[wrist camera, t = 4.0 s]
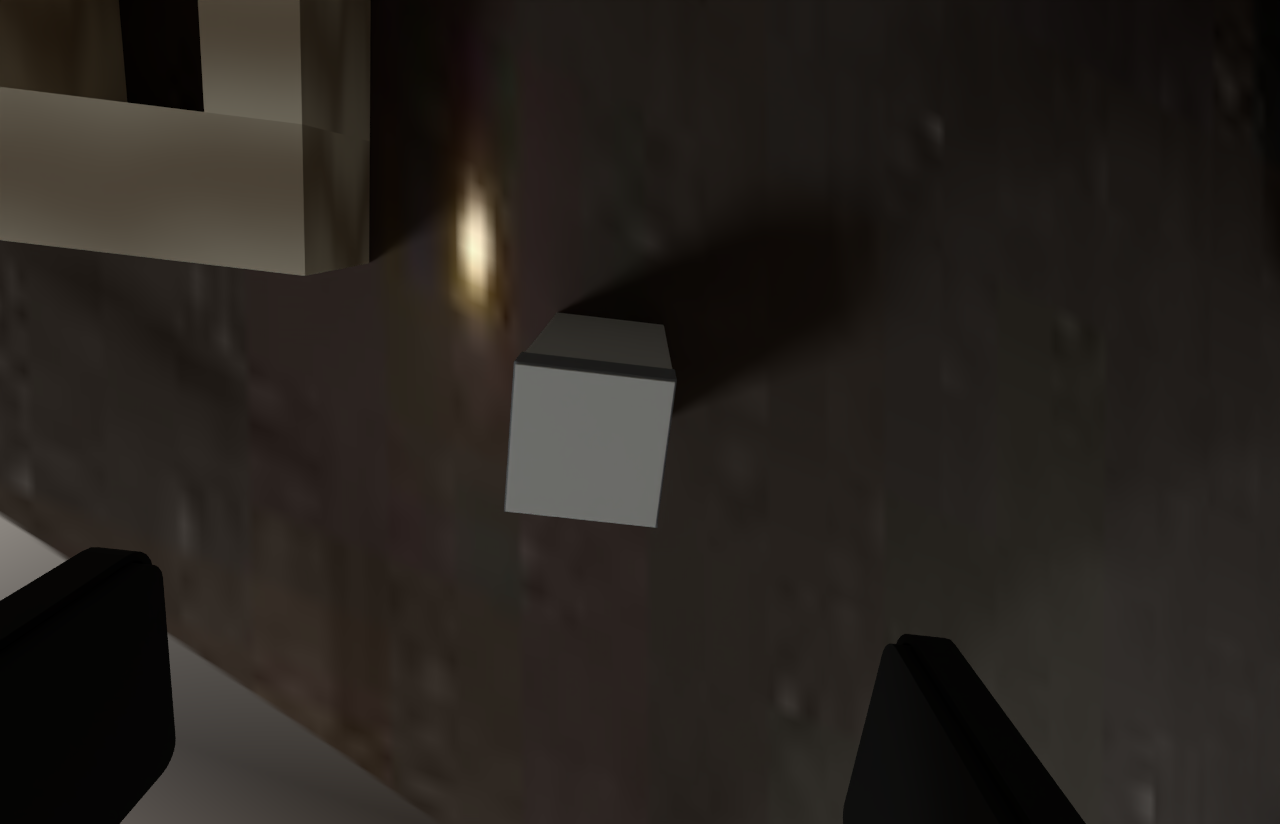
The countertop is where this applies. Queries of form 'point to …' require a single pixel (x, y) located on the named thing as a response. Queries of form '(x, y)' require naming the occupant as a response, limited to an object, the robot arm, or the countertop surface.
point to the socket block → (191, 137)
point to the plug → (591, 421)
